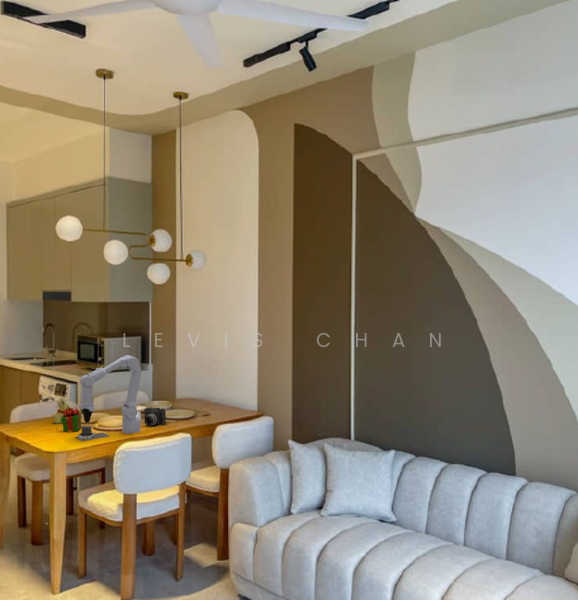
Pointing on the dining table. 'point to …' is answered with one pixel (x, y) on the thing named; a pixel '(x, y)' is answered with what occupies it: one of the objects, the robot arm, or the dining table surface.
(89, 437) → the lens mount
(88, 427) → the dark grey block
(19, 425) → the dining table surface
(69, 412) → the gift wrap
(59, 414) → the chocolate bunny
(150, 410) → the camera
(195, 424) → the dining table surface
